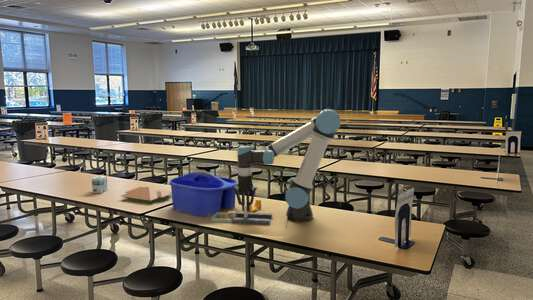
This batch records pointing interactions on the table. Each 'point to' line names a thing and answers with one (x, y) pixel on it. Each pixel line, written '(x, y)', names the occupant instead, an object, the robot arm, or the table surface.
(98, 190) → the light bulb box
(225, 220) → the tray
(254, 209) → the pipe clamp
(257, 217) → the slot rail
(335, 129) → the robot arm
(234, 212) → the chip
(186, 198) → the caddy
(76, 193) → the table surface
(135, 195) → the house
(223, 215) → the chip
